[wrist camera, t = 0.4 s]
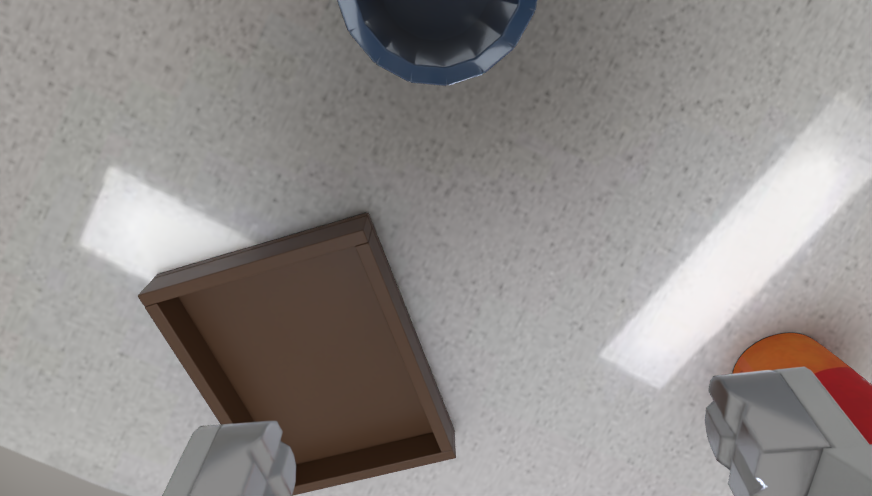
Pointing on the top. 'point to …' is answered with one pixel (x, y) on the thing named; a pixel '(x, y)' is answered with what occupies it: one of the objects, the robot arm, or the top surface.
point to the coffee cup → (815, 373)
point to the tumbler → (437, 35)
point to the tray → (309, 351)
